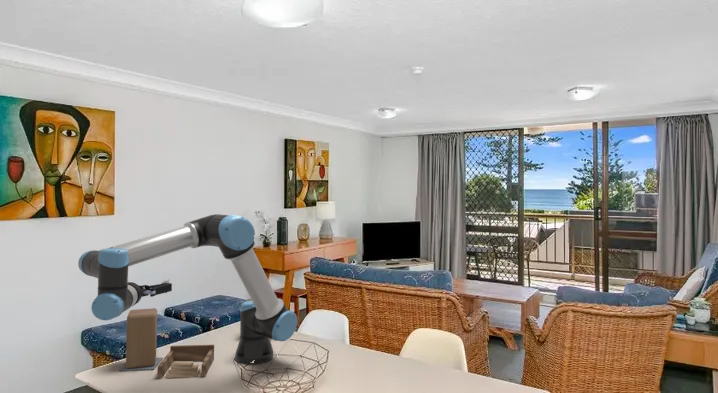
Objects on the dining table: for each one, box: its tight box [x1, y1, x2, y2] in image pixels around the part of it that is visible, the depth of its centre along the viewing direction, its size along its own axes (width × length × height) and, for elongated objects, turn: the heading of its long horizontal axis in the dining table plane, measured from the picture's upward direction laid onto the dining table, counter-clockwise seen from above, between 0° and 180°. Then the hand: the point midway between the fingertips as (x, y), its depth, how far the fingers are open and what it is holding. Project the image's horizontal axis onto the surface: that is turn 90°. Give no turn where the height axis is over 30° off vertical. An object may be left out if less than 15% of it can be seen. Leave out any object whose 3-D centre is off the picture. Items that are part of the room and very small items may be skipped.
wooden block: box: [125, 308, 158, 368], centre depth 172 cm, size 10×10×20 cm
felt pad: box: [119, 357, 164, 372], centre depth 172 cm, size 12×12×1 cm
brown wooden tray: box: [156, 344, 215, 380], centre depth 169 cm, size 18×16×6 cm
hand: (147, 283), depth 159 cm, fingers open, 13 cm apart
